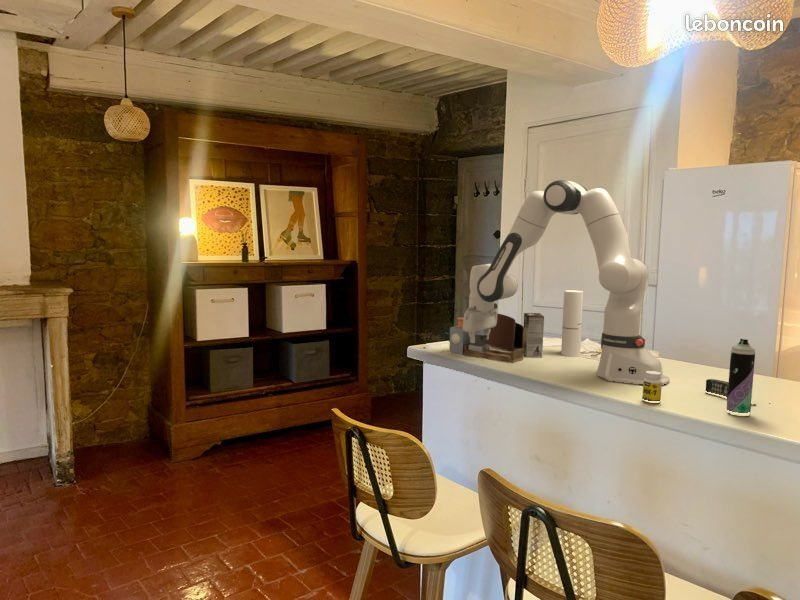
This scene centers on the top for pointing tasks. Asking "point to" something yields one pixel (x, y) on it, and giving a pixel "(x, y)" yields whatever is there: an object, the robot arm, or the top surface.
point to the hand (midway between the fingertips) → (479, 341)
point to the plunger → (460, 322)
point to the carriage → (480, 344)
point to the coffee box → (533, 335)
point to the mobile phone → (717, 387)
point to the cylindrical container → (572, 323)
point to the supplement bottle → (652, 386)
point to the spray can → (741, 377)
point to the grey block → (458, 340)
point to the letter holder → (506, 334)
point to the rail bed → (496, 355)
